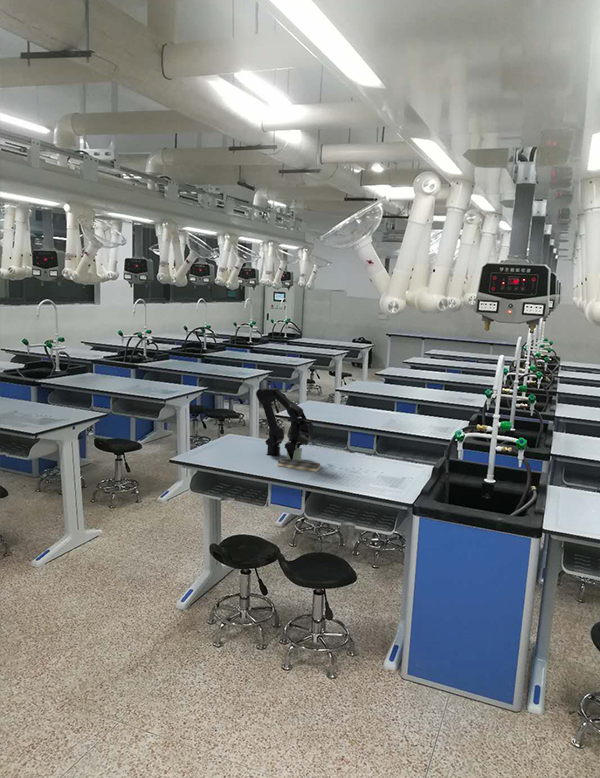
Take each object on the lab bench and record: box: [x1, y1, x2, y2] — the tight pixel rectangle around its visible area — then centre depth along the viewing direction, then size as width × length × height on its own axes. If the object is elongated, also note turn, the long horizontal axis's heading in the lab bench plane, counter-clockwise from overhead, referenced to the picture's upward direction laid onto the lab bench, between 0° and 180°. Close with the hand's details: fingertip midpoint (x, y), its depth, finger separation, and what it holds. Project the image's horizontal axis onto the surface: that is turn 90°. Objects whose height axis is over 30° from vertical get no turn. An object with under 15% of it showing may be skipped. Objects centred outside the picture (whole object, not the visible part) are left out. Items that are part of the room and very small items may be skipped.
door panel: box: [286, 447, 303, 461], centre depth 323 cm, size 8×2×7 cm, turn 73°
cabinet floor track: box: [276, 457, 322, 473], centre depth 312 cm, size 22×9×2 cm, turn 73°
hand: (293, 457), depth 323 cm, fingers open, 9 cm apart
